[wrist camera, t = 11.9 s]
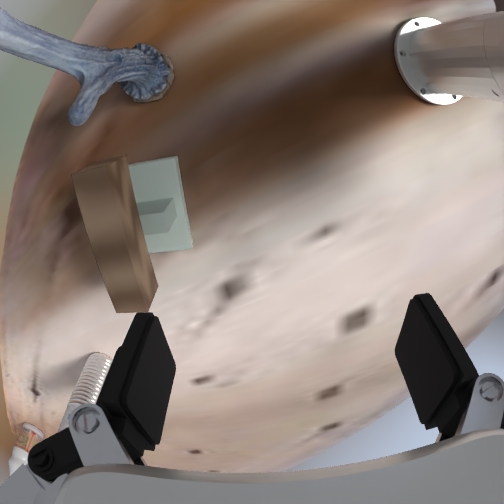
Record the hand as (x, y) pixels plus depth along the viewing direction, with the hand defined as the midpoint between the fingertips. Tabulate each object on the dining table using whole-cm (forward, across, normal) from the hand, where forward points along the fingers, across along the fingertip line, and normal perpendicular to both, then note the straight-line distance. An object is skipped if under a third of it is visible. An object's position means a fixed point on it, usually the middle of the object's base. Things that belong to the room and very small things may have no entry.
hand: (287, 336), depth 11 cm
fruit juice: (+23, +90, +80) cm, 123 cm away
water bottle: (+26, +34, +35) cm, 55 cm away
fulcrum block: (+28, +16, +4) cm, 32 cm away
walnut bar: (+21, +16, +4) cm, 27 cm away
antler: (+28, +15, -14) cm, 35 cm away
